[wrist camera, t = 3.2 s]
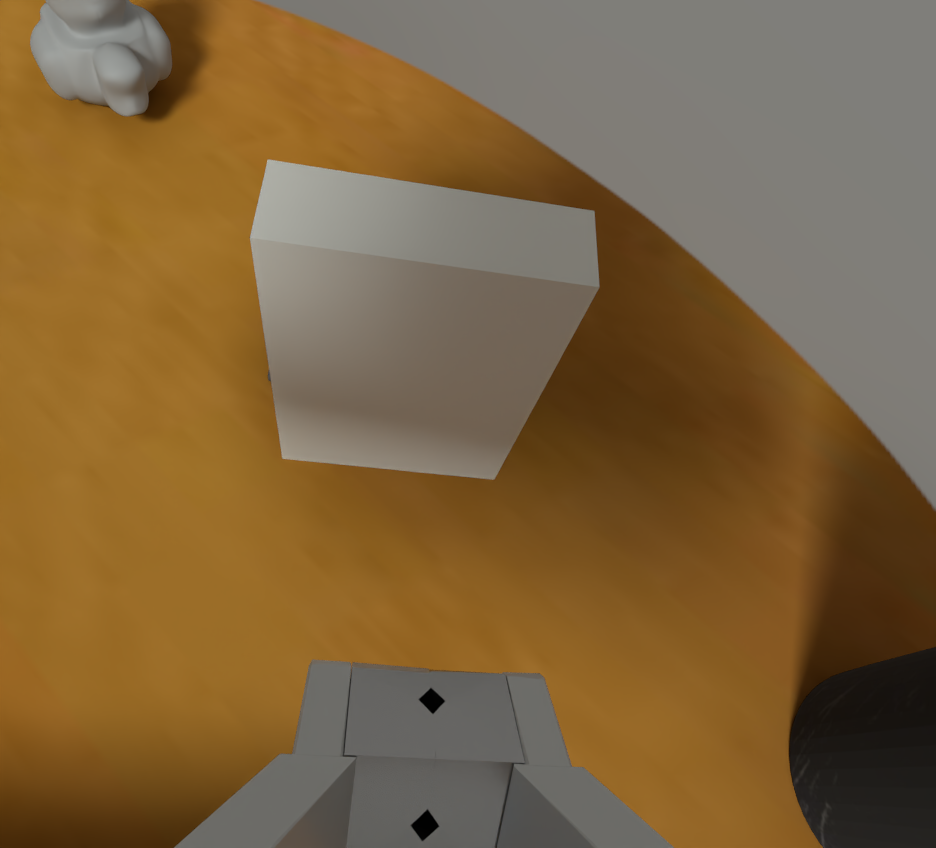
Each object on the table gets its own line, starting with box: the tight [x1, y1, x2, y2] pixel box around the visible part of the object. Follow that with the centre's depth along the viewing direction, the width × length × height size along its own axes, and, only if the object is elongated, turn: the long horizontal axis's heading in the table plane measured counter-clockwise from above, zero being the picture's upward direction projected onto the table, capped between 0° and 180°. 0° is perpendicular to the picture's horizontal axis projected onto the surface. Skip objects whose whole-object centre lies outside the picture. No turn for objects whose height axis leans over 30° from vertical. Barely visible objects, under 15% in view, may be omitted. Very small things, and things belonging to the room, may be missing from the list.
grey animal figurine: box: [30, 0, 172, 116], centre depth 29 cm, size 5×7×8 cm
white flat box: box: [250, 160, 599, 480], centre depth 22 cm, size 8×3×12 cm, turn 88°
